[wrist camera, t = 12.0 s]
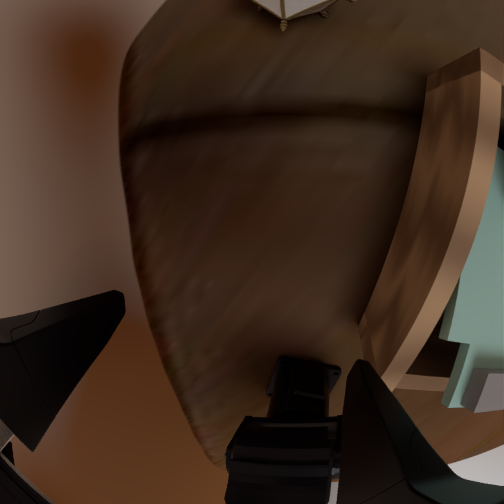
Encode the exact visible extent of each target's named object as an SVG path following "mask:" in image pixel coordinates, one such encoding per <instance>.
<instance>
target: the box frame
mask: <svg viewBox="0 0 504 504" xmlns="http://www.w3.org/2000/svg"><path fill="white" fill-rule="evenodd" d="M499 133H500V134H501V135H503V136H504V64H503V63H502V62H501V61H499V60H498V59H497V58H495V57H494V56H492V55H491V54H489V53H488V52H486V51H485V50H483V49H482V48H478V49H476V50H474V51H472V52H470V53H468V54H466V55H464V56H462V57H461V58H459V59H457V60H455V61H453V62H451V63H450V64H448V65H446V66H444V67H442V68H441V69H439V70H437V71H435V72H434V73H432V74H430V75H428V76H427V84H426V94H425V103H424V110H423V117H422V124H421V130H420V135H419V141H418V146H417V151H416V156H415V161H414V165H413V170H412V174H411V178H410V182H409V186H408V190H407V194H406V198H405V201H404V205H403V208H402V212H401V215H400V218H399V222H398V225H397V228H396V231H395V234H394V237H393V240H392V243H391V246H390V249H389V252H388V255H387V258H386V260H385V263H384V266H383V268H382V271H381V274H380V276H379V279H378V281H377V284H376V286H375V289H374V291H373V294H372V296H371V298H370V301H369V303H368V305H367V308H366V310H365V312H364V314H363V317H362V319H361V321H360V323H359V325H358V327H359V332H360V338H361V344H362V351H363V357H364V360H367V361H369V362H370V364H371V365H372V366H373V368H374V369H375V370H376V372H377V373H378V374H379V376H380V377H381V378H382V380H383V381H384V382H385V384H386V385H387V387H388V388H389V389H390V391H391V392H392V391H393V390H394V388H401V389H413V390H429V391H445V390H446V387H447V385H448V382H449V379H450V376H451V373H452V370H453V367H454V364H455V361H456V358H457V354H458V351H459V347H460V344H461V343H460V342H454V341H447V340H444V339H440V338H439V334H440V330H441V327H435V325H436V324H437V322H438V320H439V318H440V316H441V314H442V313H443V311H444V309H445V307H446V305H447V303H448V301H449V299H450V297H451V295H452V293H453V290H454V288H455V286H456V284H457V282H458V280H459V277H460V275H461V273H462V270H463V268H464V266H465V263H466V261H467V258H468V255H469V253H470V250H471V248H472V245H473V242H474V239H475V236H476V233H477V230H478V227H479V224H480V221H481V218H482V214H483V211H484V207H485V204H486V200H487V196H488V192H489V188H490V183H491V179H492V174H493V169H494V163H495V157H496V151H497V144H498V136H499Z"/></svg>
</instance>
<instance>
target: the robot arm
mask: <svg viewBox="0 0 504 504" xmlns="http://www.w3.org/2000/svg"><path fill="white" fill-rule="evenodd" d="M125 311H126V309H125V299H124V294H123V293H122V292H119V291H117V290H112V291H108V292H104V293H101V294H97V295H93V296H90V297H86V298H82V299H79V300H75V301H71V302H68V303H64V304H60V305H57V306H53V307H49V308H45V309H42V310H41V311H40V310H38V311H34V312H31V313H27V314H23V315H18V316H13V317H7V318H1V319H0V504H56V503H55V502H54V501H52V500H51V499H50V498H48V497H47V496H46V495H45V494H44V493H42V492H41V491H40V490H39V489H38V488H37V487H36V486H35V485H33V484H32V483H31V482H30V481H29V480H28V479H27V478H26V477H25V476H24V475H23V474H22V473H21V472H20V471H19V470H18V469H17V468H16V467H15V465H14V458H13V450H12V443H11V442H10V439H11V438H12V437H13V436H14V435H15V436H16V437H17V438H18V439H19V440H20V441H21V442H22V443H23V444H24V445H25V446H26V447H27V448H28V449H29V450H30V451H32V452H33V451H34V450H35V449H36V447H37V445H38V444H39V442H40V441H41V439H42V437H43V436H44V434H45V432H46V431H47V429H48V428H49V426H50V424H51V423H52V421H53V420H54V418H55V417H56V415H57V414H58V412H59V410H60V409H61V408H62V406H63V405H64V403H65V402H66V400H67V399H68V397H69V396H70V394H71V393H72V391H73V390H74V388H75V387H76V385H77V384H78V383H79V381H80V380H81V378H82V377H83V376H84V374H85V373H86V371H87V370H88V369H89V367H90V366H91V365H92V363H93V362H94V360H95V359H96V358H97V356H98V355H99V354H100V352H101V351H102V350H103V348H104V347H105V345H106V344H107V343H108V341H109V340H110V338H111V336H112V335H113V333H114V331H115V330H116V328H117V326H118V324H119V323H120V321H121V320H122V318H123V317H124V315H125ZM283 361H284V362H283ZM335 372H337V373H335ZM340 375H341V369H340V368H338V367H332V366H327V365H322V364H317V363H312V362H308V361H303V360H298V359H294V358H290V357H285V356H280V357H279V358H278V360H277V363H276V366H275V369H274V372H273V375H272V378H271V380H270V383H269V386H268V389H267V392H266V395H267V396H268V397H271V400H270V405H269V409H268V413H267V417H266V418H265V417H252V416H245V418H244V420H243V421H242V422H241V424H240V426H239V428H238V429H237V431H236V433H235V435H234V436H233V438H232V440H231V441H230V443H229V445H228V446H227V449H226V452H225V458H226V468H227V471H228V473H229V478H228V484H227V489H226V493H225V498H224V499H225V502H226V504H328V502H329V497H330V489H331V480H339V483H338V494H337V502H336V504H504V486H498V485H492V484H485V483H480V482H475V481H470V480H466V479H463V478H461V477H459V476H458V475H456V474H455V473H454V472H453V471H452V470H451V469H450V468H449V466H448V465H447V464H446V463H445V462H444V461H443V459H442V458H441V457H440V456H439V455H438V454H437V452H436V451H435V450H434V449H433V448H432V446H431V445H430V444H429V443H428V441H427V440H426V439H425V437H424V436H423V435H422V433H421V432H420V431H419V429H418V428H417V427H416V426H415V424H414V422H413V421H412V420H411V418H410V417H409V415H408V414H407V413H406V411H405V410H404V408H403V407H402V406H401V404H400V403H399V402H398V400H397V399H396V397H395V396H394V395H393V393H392V392H391V391H390V389H389V388H388V387H387V385H386V384H385V382H384V381H383V380H382V378H381V377H380V376H379V374H378V373H377V372H376V370H375V369H374V368H373V366H372V365H371V364H370V362H369V361H367V360H361V359H358V360H357V361H356V362H355V363H354V365H353V367H352V369H351V370H350V372H349V374H348V376H347V381H346V390H345V398H344V406H343V414H342V415H337V416H334V417H329V394H330V392H331V390H332V389H333V387H334V385H335V384H336V382H337V380H338V379H339V377H340Z"/></svg>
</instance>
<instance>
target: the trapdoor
mask: <svg viewBox="0 0 504 504" xmlns="http://www.w3.org/2000/svg"><path fill="white" fill-rule="evenodd" d="M439 338H440V339H444V340H447V341H454V342H460V343H461V344H460V347H459V351H458V354H457V358H456V361H455V364H454V367H453V370H452V373H451V376H450V379H449V382H448V385H447V387H446V390H445V393H444V395H443V398H442V400H441V403H442V404H444V405H445V406H447V407H448V408H454V407H465V408H467V409H468V410H470V411H472V412H473V413H477V412H486V411H494V410H502V409H504V151H503V150H502V149H500V148H499V147H497V151H496V157H495V163H494V169H493V174H492V179H491V183H490V188H489V192H488V196H487V200H486V204H485V207H484V211H483V214H482V218H481V221H480V224H479V227H478V230H477V233H476V236H475V239H474V242H473V245H472V248H471V250H470V253H469V255H468V258H467V261H466V263H465V266H464V268H463V270H462V273H461V275H460V277H459V280H458V282H457V284H456V286H455V288H454V290H453V293H452V295H451V297H450V299H449V301H448V303H447V305H446V309H445V313H444V318H443V322H442V326H441V330H440V334H439Z"/></svg>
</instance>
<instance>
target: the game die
mask: <svg viewBox="0 0 504 504" xmlns="http://www.w3.org/2000/svg"><path fill="white" fill-rule="evenodd" d="M251 1H253V2H254V3H256V4H258V6H257V9H258V11H261V10H262V11H263V9H266V10H267V11H269V12H270V13H272V14H273V15H275V16H276V17H278V18H279V19H281V22H280V26H279V27H280V28H281V30H282V32H283V31H284V30H285V29H286V28H288V27H287V25H288V24H287V20H290V19H293V18H297V17H300V16H304V15H308V14H312V13H316V12H321V15H322V17H326V18H328V13H327V11H325V10H324V9H326V8H327V7H329V6H330V5H332V4H333V3H335V2H336V1H338V0H251ZM348 1H349V2H357V1H356V0H348Z"/></svg>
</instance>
